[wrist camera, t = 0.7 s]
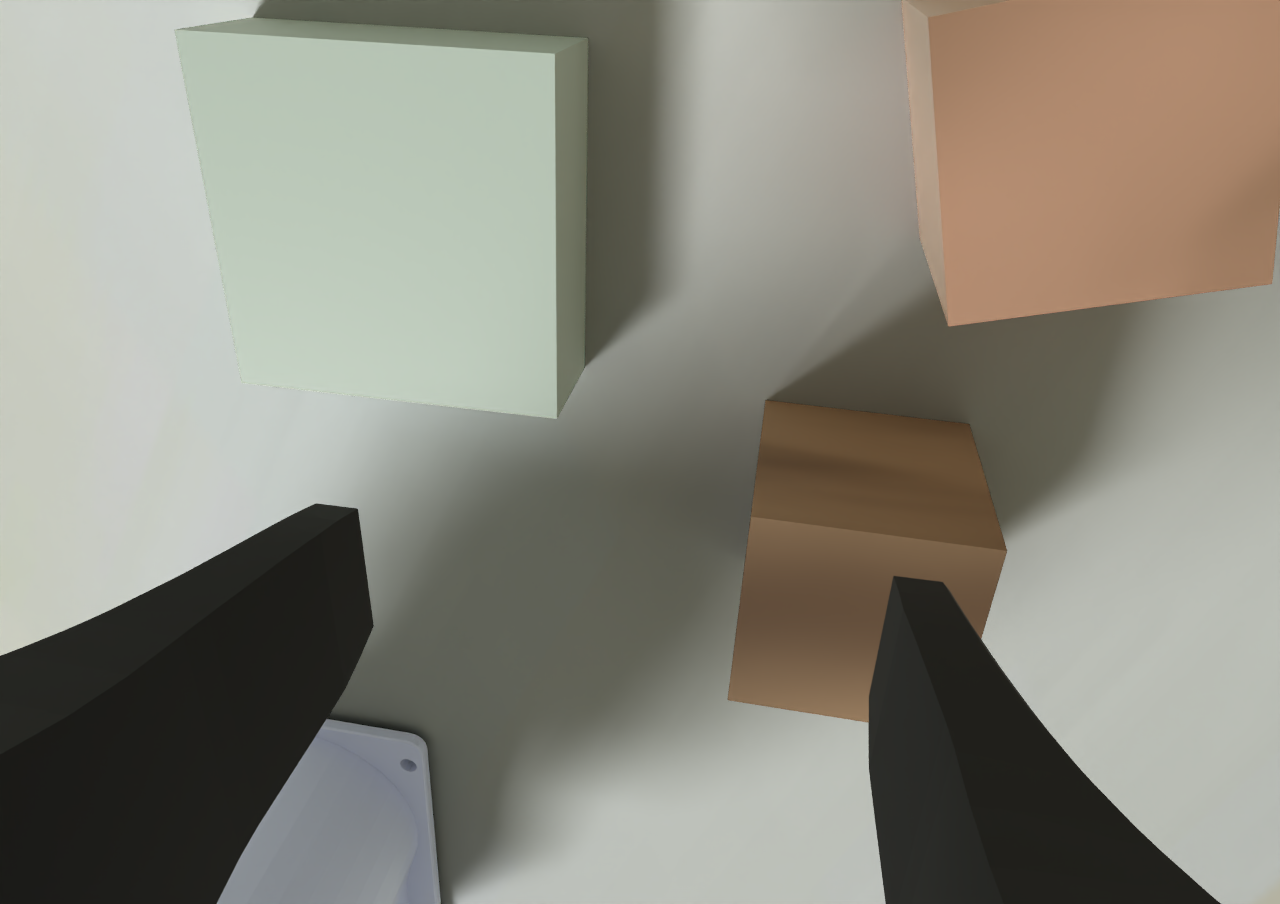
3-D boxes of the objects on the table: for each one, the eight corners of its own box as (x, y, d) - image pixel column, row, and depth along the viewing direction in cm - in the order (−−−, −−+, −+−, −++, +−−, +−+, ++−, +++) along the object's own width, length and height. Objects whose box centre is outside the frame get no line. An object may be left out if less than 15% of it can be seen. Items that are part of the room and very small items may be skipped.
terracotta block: (1163, 200, 18) (1271, 283, 14) (919, 237, 19) (948, 326, 15) (1174, -63, 16) (1304, -62, 12) (900, -3, 17) (927, 17, 13)
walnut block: (928, 585, 23) (952, 735, 19) (745, 559, 24) (727, 700, 19) (969, 423, 21) (1007, 551, 16) (765, 398, 21) (751, 516, 17)
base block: (587, 361, 22) (556, 419, 19) (306, 331, 23) (241, 383, 20) (591, 36, 18) (554, 53, 16) (260, 15, 19) (174, 29, 17)
